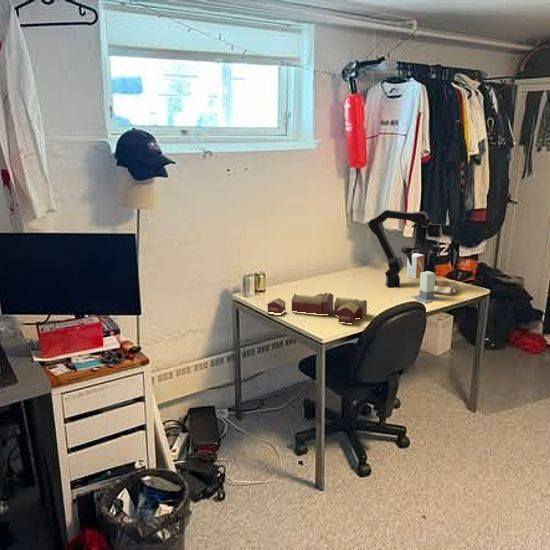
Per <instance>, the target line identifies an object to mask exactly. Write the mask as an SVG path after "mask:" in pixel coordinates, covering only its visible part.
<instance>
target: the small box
mask: <svg viewBox="0 0 550 550" xmlns="http://www.w3.org/2000/svg"><path fill="white" fill-rule="evenodd" d="M411 254H412V266H411V265H410V263H409V260H408V258H406V259H407V260H406V261H407V263H406V278H408V277H409V278H410V279H413V278H414V280H415V279H420V278H419V277H420V272H425V271H424V269H425V254H424V253H417V252H415V253H411Z"/></svg>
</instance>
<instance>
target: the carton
mask: <svg viewBox="0 0 550 550" xmlns="http://www.w3.org/2000/svg"><path fill="white" fill-rule="evenodd" d="M459 289H460V285H459V284H458V282H456V281H448V280H440V279H439V280H438V279H435V288H434V295H435V294H437V295H443V296H452V295H453V294H455V293H456V292H458V290H459Z"/></svg>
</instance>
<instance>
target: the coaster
mask: <svg viewBox="0 0 550 550" xmlns="http://www.w3.org/2000/svg"><path fill="white" fill-rule="evenodd" d="M419 295H420V294H419ZM419 295H413V296H411V298H413V299H415V300H416V301H418V302H420V301H421V302H420V303H422V302H425V303H426V304H429V303H428V302H431V303H433V302H437V301H442V300H443V298H441V297H439V296H436V295H434V298H433V299H428V300H425V299H422V298H420V297H419ZM425 303H424V304H425Z"/></svg>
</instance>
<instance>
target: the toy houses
mask: <svg viewBox="0 0 550 550" xmlns="http://www.w3.org/2000/svg"><path fill="white" fill-rule="evenodd" d="M265 305H266V306H267V313H268V312H274V313H282V312H283V311H284V310H285V311H286V305H287V302H286V301H285V300H283V299H281V298H279V297H278V298H276V299H272V300H271V301H269V302H268V303H266V304H265ZM332 310H333V311H334V315H337V316H339V317H338V323H339V322H345V323H353V322H354V321H355V319H356V318H360V319H363V320H364V318H365V317H366V316H367V313H368V311H367V310H368V301H367V300H366V299H357V298H348V297H347V298H346V297H336V299H335V300H334V294H333V293H330V292H324V293H319V294H316V295H309V294H308V295H306V294H296V293H294V294H293V296H292V298H291V312H292V311H297V312H306V313H316V314H329V313H330V312H331V311H332ZM333 311H332V312H333ZM332 312H331V313H332ZM331 313H330V314H331ZM330 314H329V315H330ZM334 315H333V316H334ZM365 315H366V316H365ZM364 316H365V317H364ZM363 317H364V318H363ZM356 320H357V319H356ZM355 322H356V321H355ZM355 322H354V323H355ZM354 323H353V324H354Z"/></svg>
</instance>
